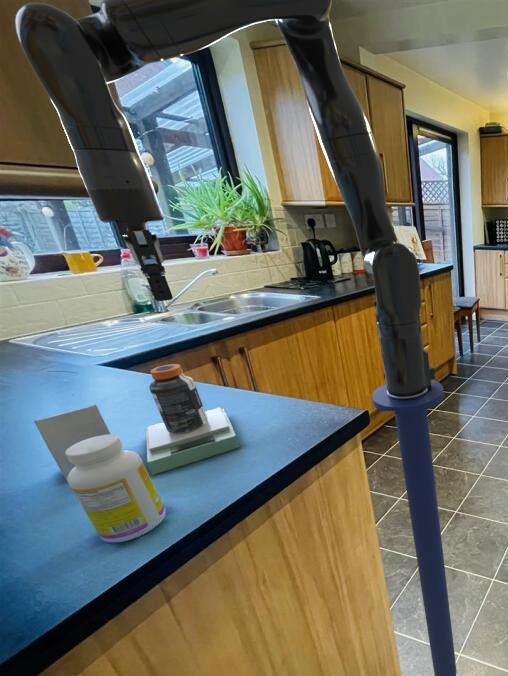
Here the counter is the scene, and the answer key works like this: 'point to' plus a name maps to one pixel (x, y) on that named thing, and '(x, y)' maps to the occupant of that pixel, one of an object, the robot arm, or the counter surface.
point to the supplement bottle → (114, 488)
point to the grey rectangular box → (70, 432)
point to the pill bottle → (177, 399)
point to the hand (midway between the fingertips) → (163, 296)
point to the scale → (189, 442)
